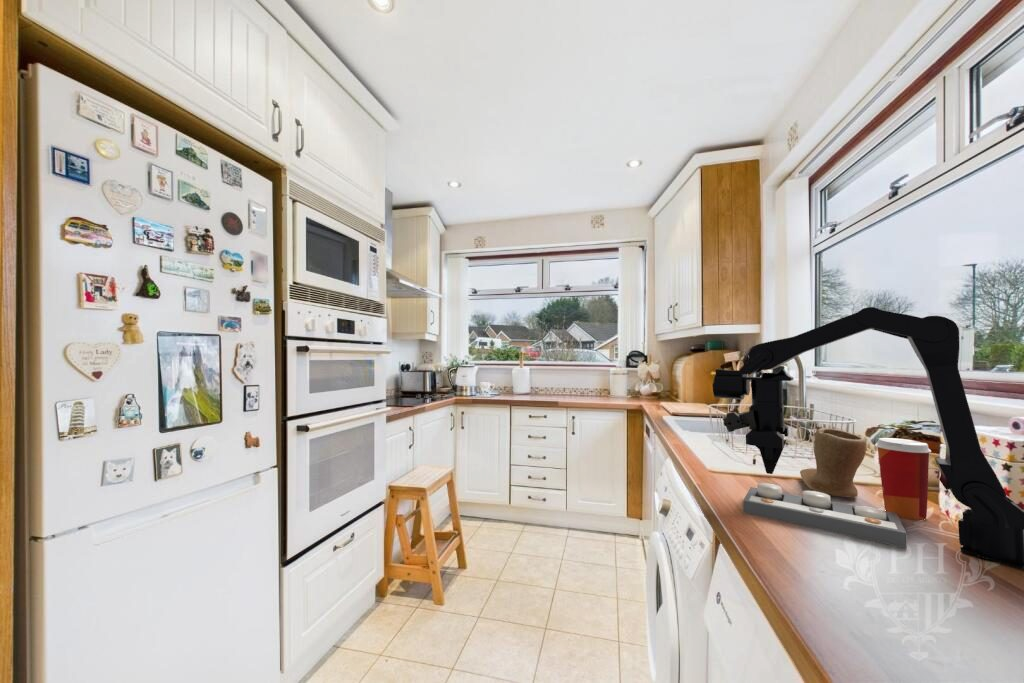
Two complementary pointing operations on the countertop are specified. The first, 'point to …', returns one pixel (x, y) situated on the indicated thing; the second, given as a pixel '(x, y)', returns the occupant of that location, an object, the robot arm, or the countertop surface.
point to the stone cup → (835, 462)
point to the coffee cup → (904, 476)
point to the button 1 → (769, 491)
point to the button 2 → (870, 513)
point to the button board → (827, 518)
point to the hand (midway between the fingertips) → (769, 473)
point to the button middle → (816, 499)
